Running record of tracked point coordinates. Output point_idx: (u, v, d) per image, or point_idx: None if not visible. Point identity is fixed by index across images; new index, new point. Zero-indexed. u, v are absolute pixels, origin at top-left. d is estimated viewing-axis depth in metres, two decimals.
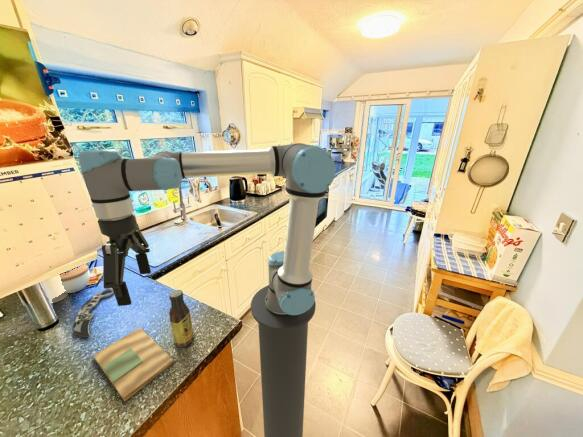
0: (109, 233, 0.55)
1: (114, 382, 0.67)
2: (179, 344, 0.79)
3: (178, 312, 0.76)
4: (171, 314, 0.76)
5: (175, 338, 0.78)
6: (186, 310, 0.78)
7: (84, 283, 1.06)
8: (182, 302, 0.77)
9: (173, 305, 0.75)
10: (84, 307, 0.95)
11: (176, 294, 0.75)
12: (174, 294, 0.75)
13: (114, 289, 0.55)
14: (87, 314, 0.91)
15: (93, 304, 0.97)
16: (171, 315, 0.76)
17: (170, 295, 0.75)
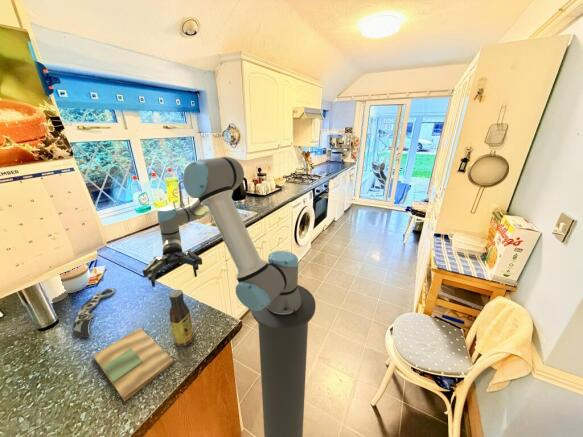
0: None
1: (114, 382, 0.67)
2: (179, 344, 0.79)
3: (178, 312, 0.76)
4: (171, 314, 0.76)
5: (175, 338, 0.78)
6: (186, 310, 0.78)
7: (84, 283, 1.06)
8: (182, 302, 0.77)
9: (173, 305, 0.75)
10: (84, 307, 0.95)
11: (176, 294, 0.75)
12: (174, 294, 0.75)
13: None
14: (87, 314, 0.91)
15: (93, 304, 0.97)
16: (171, 315, 0.76)
17: (170, 295, 0.75)
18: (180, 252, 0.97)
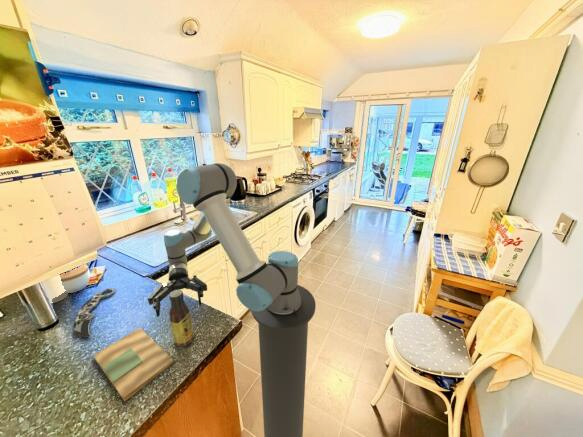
0: None
1: (114, 382, 0.67)
2: (179, 344, 0.79)
3: (178, 312, 0.76)
4: (171, 314, 0.76)
5: (175, 338, 0.78)
6: (186, 310, 0.78)
7: (84, 283, 1.06)
8: (182, 302, 0.77)
9: (173, 305, 0.75)
10: (84, 307, 0.95)
11: (176, 294, 0.75)
12: (174, 294, 0.75)
13: None
14: (87, 314, 0.91)
15: (93, 304, 0.97)
16: (171, 315, 0.76)
17: (170, 295, 0.75)
18: (186, 277, 0.97)
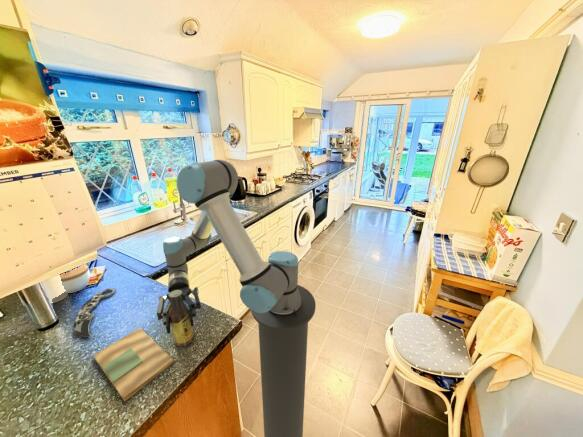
0: None
1: (114, 382, 0.67)
2: (179, 344, 0.79)
3: (178, 312, 0.76)
4: (171, 314, 0.76)
5: (175, 338, 0.78)
6: (186, 310, 0.78)
7: (84, 283, 1.06)
8: (182, 302, 0.77)
9: (173, 305, 0.75)
10: (84, 307, 0.95)
11: (176, 295, 0.75)
12: (174, 294, 0.75)
13: (163, 319, 0.77)
14: (87, 314, 0.91)
15: (93, 304, 0.97)
16: (171, 315, 0.76)
17: (170, 295, 0.75)
18: (187, 287, 0.90)
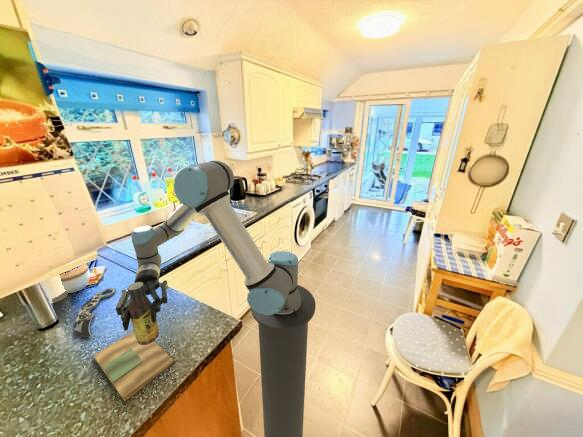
0: None
1: (114, 382, 0.67)
2: (141, 342, 0.71)
3: (138, 307, 0.68)
4: (130, 309, 0.68)
5: (136, 336, 0.71)
6: (148, 305, 0.70)
7: (84, 283, 1.06)
8: (143, 296, 0.69)
9: (132, 299, 0.68)
10: (84, 307, 0.95)
11: (135, 287, 0.67)
12: (133, 287, 0.67)
13: None
14: (87, 314, 0.91)
15: (93, 304, 0.97)
16: (130, 310, 0.68)
17: (128, 288, 0.67)
18: (155, 281, 0.83)
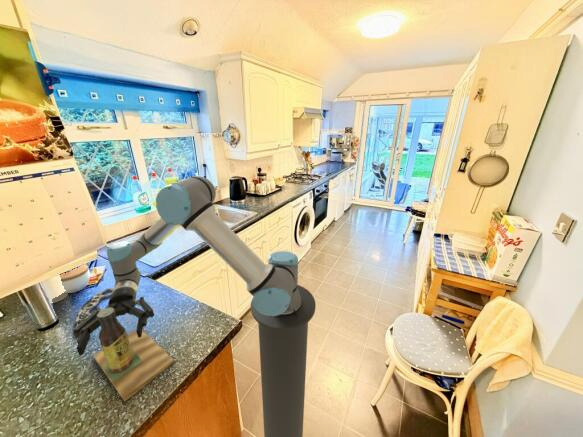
0: None
1: (114, 382, 0.67)
2: (113, 370, 0.69)
3: (109, 334, 0.66)
4: (100, 336, 0.65)
5: (108, 363, 0.68)
6: (119, 331, 0.67)
7: (84, 283, 1.06)
8: (114, 322, 0.66)
9: (102, 326, 0.65)
10: (85, 307, 0.95)
11: (105, 314, 0.65)
12: (103, 314, 0.65)
13: None
14: (88, 314, 0.91)
15: (94, 304, 0.97)
16: (100, 337, 0.65)
17: (98, 315, 0.64)
18: (131, 299, 0.80)
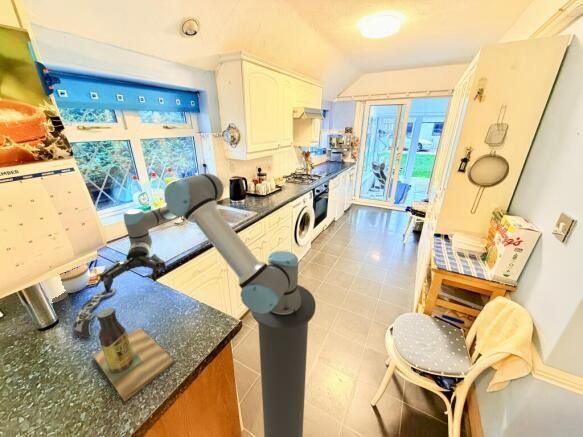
0: None
1: (114, 382, 0.67)
2: (113, 370, 0.69)
3: (109, 334, 0.66)
4: (100, 336, 0.65)
5: (108, 363, 0.68)
6: (119, 331, 0.67)
7: (84, 283, 1.06)
8: (114, 322, 0.66)
9: (102, 326, 0.65)
10: (85, 307, 0.95)
11: (105, 314, 0.65)
12: (103, 314, 0.65)
13: None
14: (88, 314, 0.91)
15: (94, 304, 0.97)
16: (100, 337, 0.65)
17: (98, 315, 0.64)
18: (145, 255, 0.93)
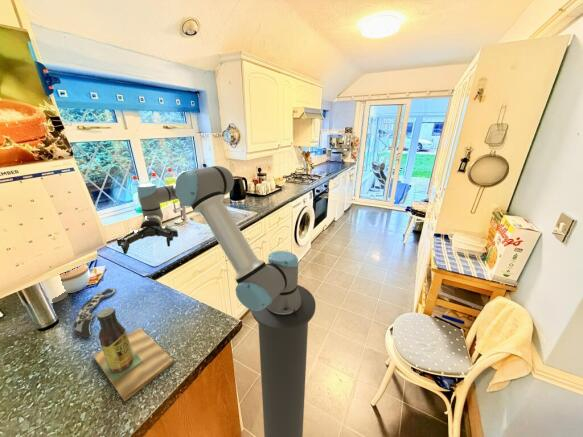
0: None
1: (114, 382, 0.67)
2: (113, 370, 0.69)
3: (109, 334, 0.66)
4: (100, 336, 0.65)
5: (108, 363, 0.68)
6: (119, 331, 0.67)
7: (84, 283, 1.06)
8: (114, 322, 0.66)
9: (102, 326, 0.65)
10: (85, 307, 0.95)
11: (105, 314, 0.65)
12: (103, 314, 0.65)
13: None
14: (88, 314, 0.91)
15: (94, 304, 0.97)
16: (100, 337, 0.65)
17: (98, 315, 0.64)
18: (158, 226, 0.98)
